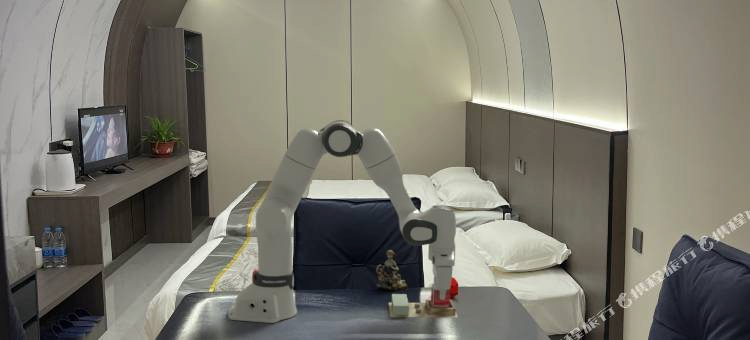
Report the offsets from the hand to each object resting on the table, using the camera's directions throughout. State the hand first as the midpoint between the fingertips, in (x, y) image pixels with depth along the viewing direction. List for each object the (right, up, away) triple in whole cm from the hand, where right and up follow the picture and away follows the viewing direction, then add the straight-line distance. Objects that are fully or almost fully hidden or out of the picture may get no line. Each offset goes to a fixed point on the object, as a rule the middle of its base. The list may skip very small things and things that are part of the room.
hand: (440, 294), depth 225 cm
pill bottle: (0, -6, +1) cm, 6 cm away
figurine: (-16, -3, +25) cm, 30 cm away
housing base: (-6, -6, +1) cm, 9 cm away
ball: (+4, -5, +17) cm, 18 cm away
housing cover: (-14, -5, 0) cm, 15 cm away
